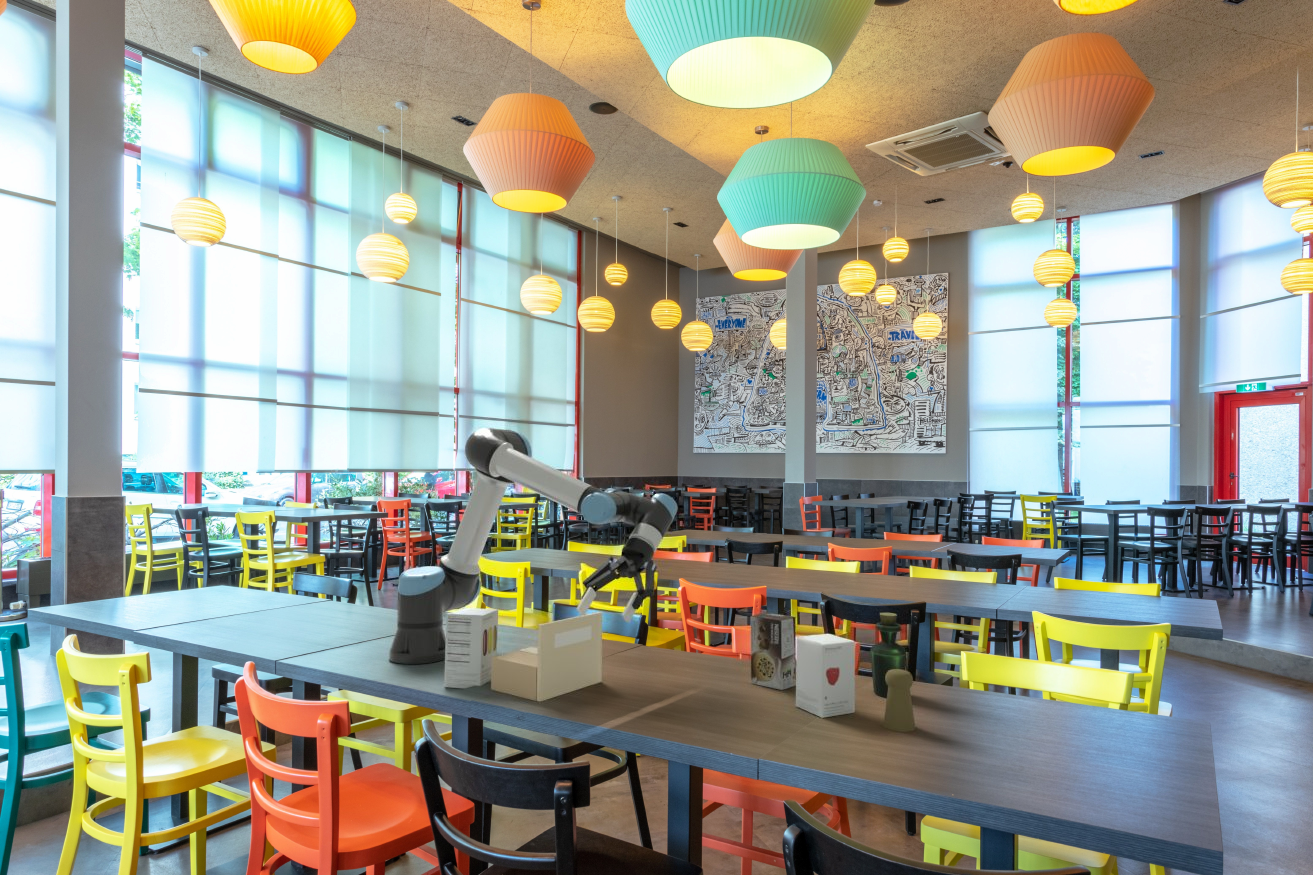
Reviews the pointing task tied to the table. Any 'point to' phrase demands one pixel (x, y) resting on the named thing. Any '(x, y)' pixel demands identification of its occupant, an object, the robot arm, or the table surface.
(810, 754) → the table surface
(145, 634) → the table surface
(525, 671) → the carton
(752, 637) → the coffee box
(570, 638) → the carton flap
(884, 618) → the potion bottle
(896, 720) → the olive pawn
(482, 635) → the supplement box
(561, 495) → the robot arm
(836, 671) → the supplement box
